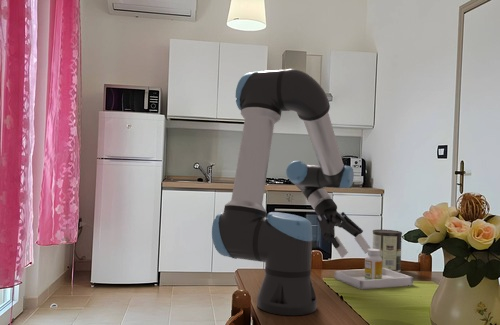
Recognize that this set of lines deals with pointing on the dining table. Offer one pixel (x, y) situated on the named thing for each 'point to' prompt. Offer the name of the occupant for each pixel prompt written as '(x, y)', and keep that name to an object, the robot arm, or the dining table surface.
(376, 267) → the supplement bottle
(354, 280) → the white tray
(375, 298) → the dining table surface
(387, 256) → the coffee can
